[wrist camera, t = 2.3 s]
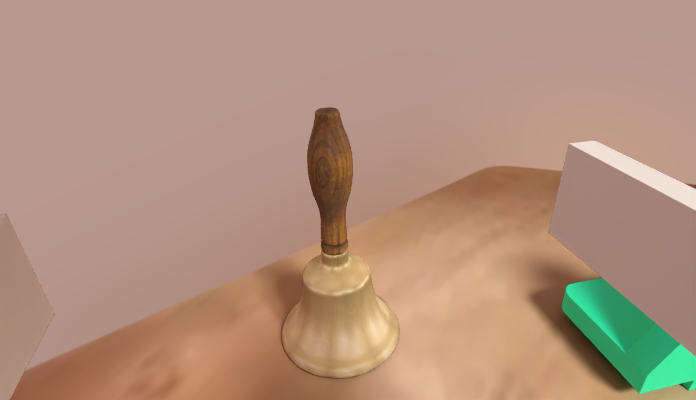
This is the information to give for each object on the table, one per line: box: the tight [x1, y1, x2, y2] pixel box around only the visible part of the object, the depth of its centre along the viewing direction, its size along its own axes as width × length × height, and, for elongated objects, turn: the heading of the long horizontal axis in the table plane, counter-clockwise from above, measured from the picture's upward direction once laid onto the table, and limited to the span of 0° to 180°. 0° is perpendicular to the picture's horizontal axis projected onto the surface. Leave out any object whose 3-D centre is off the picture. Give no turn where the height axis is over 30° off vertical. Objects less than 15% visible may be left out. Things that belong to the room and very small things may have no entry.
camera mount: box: [561, 278, 696, 394], centre depth 27 cm, size 12×8×10 cm, turn 102°
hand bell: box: [282, 108, 399, 378], centre depth 27 cm, size 8×8×16 cm
